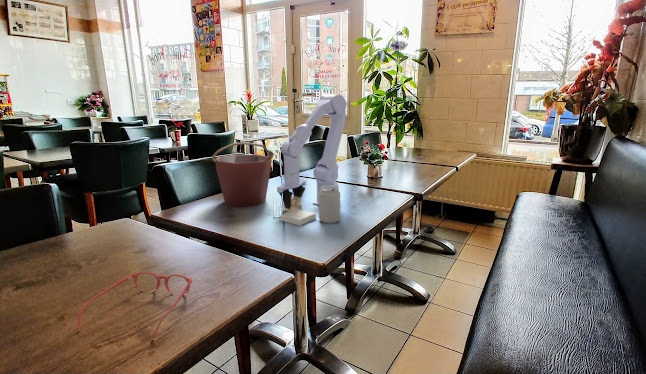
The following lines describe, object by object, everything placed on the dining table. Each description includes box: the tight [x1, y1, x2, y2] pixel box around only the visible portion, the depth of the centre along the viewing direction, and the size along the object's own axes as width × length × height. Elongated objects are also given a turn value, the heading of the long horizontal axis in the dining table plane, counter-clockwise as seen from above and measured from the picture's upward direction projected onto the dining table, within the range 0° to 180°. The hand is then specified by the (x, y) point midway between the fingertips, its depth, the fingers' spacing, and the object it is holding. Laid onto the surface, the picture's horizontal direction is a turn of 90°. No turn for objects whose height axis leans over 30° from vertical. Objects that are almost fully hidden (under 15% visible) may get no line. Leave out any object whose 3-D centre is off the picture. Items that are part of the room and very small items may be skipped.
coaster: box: [280, 209, 317, 226], centre depth 125 cm, size 9×9×2 cm
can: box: [318, 187, 341, 224], centre depth 123 cm, size 8×8×12 cm
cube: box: [284, 195, 303, 212], centre depth 135 cm, size 5×5×5 cm
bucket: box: [211, 142, 275, 209], centre depth 143 cm, size 24×22×25 cm
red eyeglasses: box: [77, 271, 193, 339], centre depth 70 cm, size 17×16×5 cm
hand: (292, 206), depth 136 cm, fingers closed on cube, 5 cm apart
